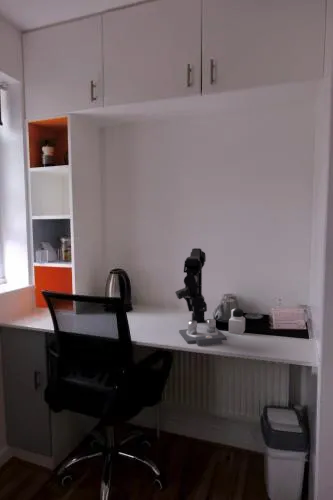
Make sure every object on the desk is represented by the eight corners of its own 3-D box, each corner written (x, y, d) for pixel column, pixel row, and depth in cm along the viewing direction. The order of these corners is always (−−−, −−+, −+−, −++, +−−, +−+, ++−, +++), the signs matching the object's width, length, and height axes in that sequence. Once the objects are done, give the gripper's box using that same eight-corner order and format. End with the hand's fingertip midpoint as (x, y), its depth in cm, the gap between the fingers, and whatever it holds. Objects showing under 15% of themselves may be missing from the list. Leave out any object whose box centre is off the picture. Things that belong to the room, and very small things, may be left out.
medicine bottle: (245, 330, 173) (245, 308, 172) (242, 334, 167) (242, 311, 166) (231, 328, 176) (232, 307, 175) (228, 332, 170) (228, 310, 169)
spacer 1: (195, 331, 167) (195, 319, 166) (198, 334, 162) (198, 322, 162) (187, 332, 166) (187, 320, 165) (189, 335, 161) (189, 323, 161)
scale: (214, 329, 175) (214, 323, 175) (230, 342, 156) (230, 336, 156) (179, 332, 171) (179, 326, 171) (190, 346, 152) (190, 339, 151)
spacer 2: (213, 329, 169) (213, 318, 168) (216, 332, 165) (216, 321, 164) (205, 330, 168) (205, 319, 167) (208, 333, 164) (208, 321, 163)
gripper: (172, 280, 169) (172, 310, 171) (181, 287, 151) (182, 320, 152) (192, 279, 172) (192, 308, 173) (204, 286, 153) (204, 318, 155)
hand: (192, 313), depth 163 cm, fingers open, 9 cm apart
